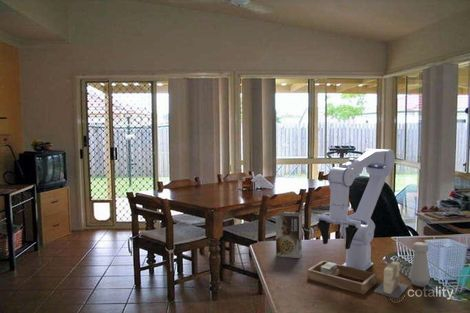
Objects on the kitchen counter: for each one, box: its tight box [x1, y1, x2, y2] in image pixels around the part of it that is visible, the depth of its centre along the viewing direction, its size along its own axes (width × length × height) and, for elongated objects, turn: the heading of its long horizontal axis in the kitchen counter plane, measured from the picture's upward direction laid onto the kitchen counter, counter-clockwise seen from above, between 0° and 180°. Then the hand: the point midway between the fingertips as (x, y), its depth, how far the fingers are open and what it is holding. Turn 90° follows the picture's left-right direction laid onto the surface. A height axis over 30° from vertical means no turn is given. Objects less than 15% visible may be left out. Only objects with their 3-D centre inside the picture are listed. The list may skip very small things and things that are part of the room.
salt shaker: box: [408, 241, 431, 288], centre depth 121 cm, size 6×6×13 cm
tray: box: [306, 260, 378, 295], centre depth 125 cm, size 11×19×3 cm, turn 50°
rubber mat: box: [373, 281, 409, 300], centre depth 118 cm, size 10×7×1 cm
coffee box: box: [275, 210, 303, 259], centre depth 149 cm, size 9×6×16 cm
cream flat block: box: [383, 260, 401, 294], centre depth 118 cm, size 8×2×7 cm, turn 140°
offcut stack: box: [321, 261, 340, 277], centre depth 128 cm, size 7×4×4 cm, turn 141°
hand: (336, 246), depth 127 cm, fingers open, 7 cm apart
